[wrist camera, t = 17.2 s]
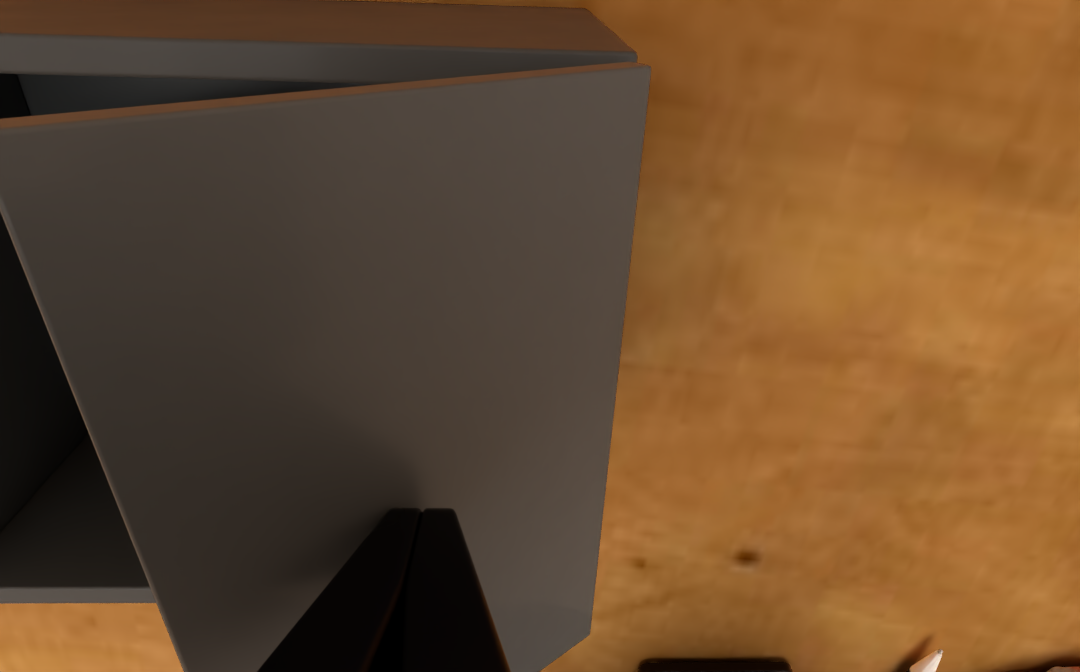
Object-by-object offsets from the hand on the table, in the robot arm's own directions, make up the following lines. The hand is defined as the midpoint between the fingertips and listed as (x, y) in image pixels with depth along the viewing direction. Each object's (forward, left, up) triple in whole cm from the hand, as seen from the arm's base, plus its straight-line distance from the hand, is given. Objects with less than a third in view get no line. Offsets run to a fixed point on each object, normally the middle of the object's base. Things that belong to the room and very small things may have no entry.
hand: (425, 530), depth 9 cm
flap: (0, 0, -1) cm, 1 cm away
